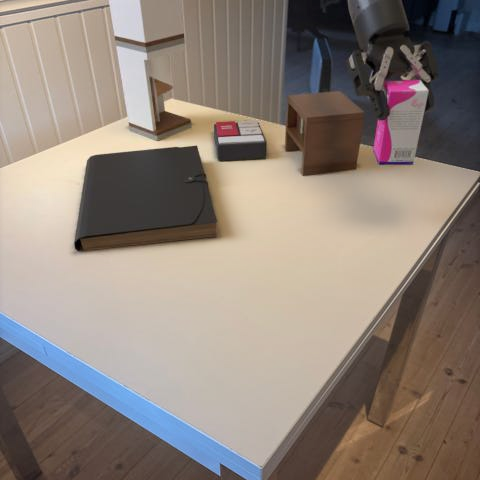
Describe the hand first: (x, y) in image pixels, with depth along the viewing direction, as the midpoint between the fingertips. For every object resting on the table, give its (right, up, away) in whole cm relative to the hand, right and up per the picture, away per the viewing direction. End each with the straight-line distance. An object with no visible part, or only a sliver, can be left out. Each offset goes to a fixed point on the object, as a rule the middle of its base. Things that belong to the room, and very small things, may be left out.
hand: (406, 113), depth 75 cm
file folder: (-44, -9, +20) cm, 49 cm away
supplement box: (0, -5, +6) cm, 8 cm away
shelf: (-8, +4, +34) cm, 35 cm away
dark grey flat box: (-26, +9, +40) cm, 48 cm away
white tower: (-46, +17, +49) cm, 69 cm away
